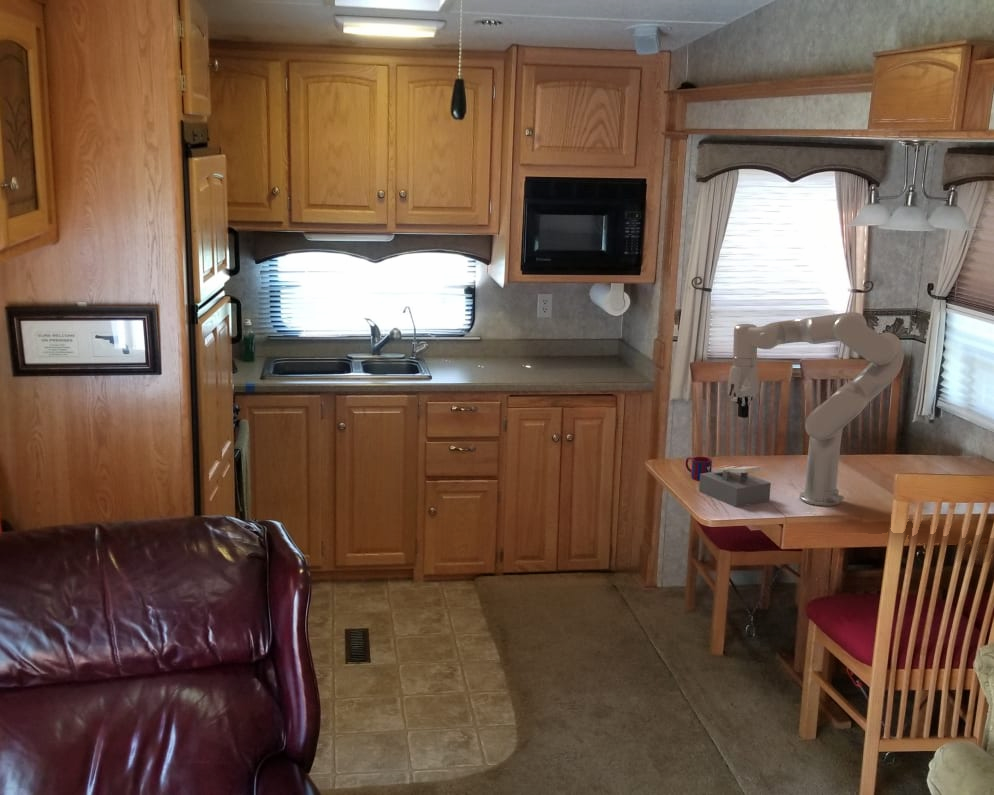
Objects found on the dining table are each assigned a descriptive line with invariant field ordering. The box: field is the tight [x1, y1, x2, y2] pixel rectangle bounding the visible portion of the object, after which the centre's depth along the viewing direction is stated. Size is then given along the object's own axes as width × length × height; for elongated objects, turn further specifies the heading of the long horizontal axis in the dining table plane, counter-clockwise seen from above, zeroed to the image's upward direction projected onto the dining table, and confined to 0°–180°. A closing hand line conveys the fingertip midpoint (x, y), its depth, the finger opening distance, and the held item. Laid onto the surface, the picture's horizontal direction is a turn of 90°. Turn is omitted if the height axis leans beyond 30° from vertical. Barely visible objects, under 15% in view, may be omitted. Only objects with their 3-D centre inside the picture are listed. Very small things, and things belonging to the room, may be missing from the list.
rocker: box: [711, 464, 761, 473], centre depth 332 cm, size 16×6×2 cm, turn 28°
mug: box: [685, 456, 713, 482], centre depth 353 cm, size 7×10×7 cm
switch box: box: [698, 470, 772, 508], centre depth 333 cm, size 18×14×9 cm
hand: (743, 416), depth 337 cm, fingers closed
